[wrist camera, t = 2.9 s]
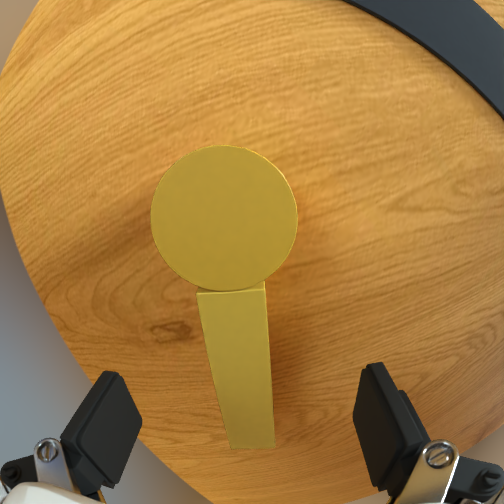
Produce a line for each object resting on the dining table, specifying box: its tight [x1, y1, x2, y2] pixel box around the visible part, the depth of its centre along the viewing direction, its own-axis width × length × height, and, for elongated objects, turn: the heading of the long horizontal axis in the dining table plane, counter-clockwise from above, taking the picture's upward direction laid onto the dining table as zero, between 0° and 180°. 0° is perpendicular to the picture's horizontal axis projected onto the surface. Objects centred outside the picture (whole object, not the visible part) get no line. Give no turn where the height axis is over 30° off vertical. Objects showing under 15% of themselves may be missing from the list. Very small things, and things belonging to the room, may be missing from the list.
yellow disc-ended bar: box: [150, 145, 298, 449], centre depth 14 cm, size 18×6×4 cm, turn 5°
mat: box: [343, 0, 504, 119], centre depth 10 cm, size 24×10×1 cm, turn 68°
